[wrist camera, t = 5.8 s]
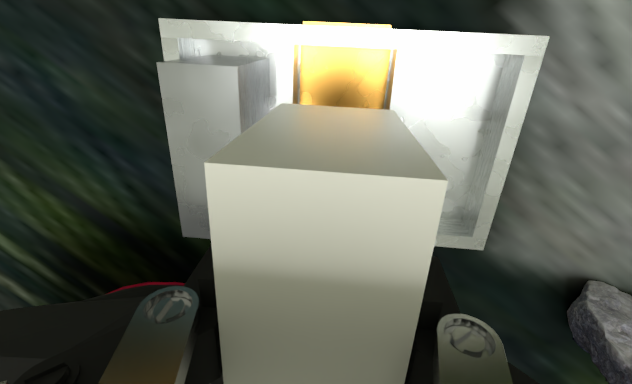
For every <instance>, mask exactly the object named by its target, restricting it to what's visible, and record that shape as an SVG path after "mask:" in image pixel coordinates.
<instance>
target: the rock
mask: <svg viewBox="0 0 632 384" xmlns="http://www.w3.org/2000/svg"><path fill="white" fill-rule="evenodd" d="M567 318H568V322H569V326H570V329H571V331H572V334H573V340H574V341H575V342H576V343H577V344H578V345H579V346H580V347H581V348H582V349H584V350H585V351H586V352H588V353H589V354H590V356H591V358H592V361H593V363H594V364H595V365H596V366H597V367H598V369H599V370H600V372H601V374H602V375H603V376H604V377H605V379H606V381H607V382H608V383H609V384H632V296H631V295H629V294H627V293H624V292H621V291H619V290H618V289H617V288H616V287H614V286H611V285H608V284H606V283H604V282H600V281H592V280H590V281H587V283H586V284H585V285H584V288H583V290H582V292H581V294H580V296H579V297H578V298H577V299H576V300H575V301H574V302H573V303H572V304H571V306H570V308H569V309H568V311H567Z"/></svg>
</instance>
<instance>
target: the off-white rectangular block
mask: <svg viewBox="0 0 632 384" xmlns="http://www.w3.org/2000/svg"><path fill="white" fill-rule="evenodd" d="M204 167H205V179H206V190H207V201H208V213H209V224H210V235H211V246H212V258H213V269H214V280H215V292H216V303H217V314H218V325H219V337H220V348H221V359H222V370H223V382H224V384H404V383H405V378H406V374H407V369H408V364H409V360H410V355H411V350H412V346H413V341H414V337H415V332H416V327H417V323H418V318H419V314H420V309H421V304H422V300H423V295H424V290H425V286H426V281H427V277H428V272H429V267H430V263H431V258H432V253H433V249H434V244H435V240H436V235H437V230H438V226H439V221H440V216H441V212H442V207H443V203H444V198H445V193H446V189H447V184H448V180H447V178H446V177H445V176H444V175H443V173H442V172H441V171H440V169H439V168H438V167H437V165H436V164H435V163H434V162H433V160H432V159H431V158H430V156H429V155H428V154H427V153H426V151H425V150H424V149H423V147H422V146H421V145H420V143H419V142H418V141H417V140H416V138H415V137H414V136H413V134H412V133H411V132H410V130H409V129H408V128H407V127H406V125H405V124H404V123H403V121H402V120H401V119H400V117H399V116H398V115H397V114H396V112H395V111H394V110H384V109H368V108H352V107H335V106H319V105H303V104H287V103H281V104H280V105H278V106H277V107H276V108H275V109H273V110H272V111H271V112H269V113H268V114H267V115H265V116H264V117H263V118H262V119H260V120H259V121H258V122H256V123H255V124H254V125H252V126H251V127H250V128H248V129H247V130H246V131H245V132H243V133H242V134H241V135H239V136H238V137H237V138H235V139H234V140H233V141H232V142H230V143H229V144H228V145H226V146H225V147H224V148H222V149H221V150H220V151H218V152H217V153H216V154H215V155H213V156H212V157H211V158H209V159H208V160H207V161H205V162H204Z"/></svg>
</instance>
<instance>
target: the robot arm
mask: <svg viewBox="0 0 632 384" xmlns="http://www.w3.org/2000/svg"><path fill="white" fill-rule="evenodd" d="M220 377H223V370H222V359H221V348H220V337H219V325H218V314H217V303H216V292H215V280H214V269H213V258H212V246H211V245H210V247H209V248H208V250H207V251H206V253H205V254H204V256H203V257H202V259H201V260H200V262H199V263H198V265H197V266H196V268H195V269H194V271H193V273H192V274H191V276H190V277H189V279H188V280H187V282H186V283H185V285H184V286H172V287H166V288H163V289H160V290H157V291H155V292H154V293H152V294H150V295H149V296H147V297H146V298H145V299H144V300H143V301H142V302H141V303H140V305H139V306H138V308H137V309H136V311H135V313H134V315H133V317H132V319H131V321H130V323H129V324H126V325H124V326H122V327H119V328H117V329H115V330H113V331H110V332H108V333H106V334H103V335H101V336H99V337H96V338H94V339H92V340H90V341H87V342H85V343H83V344H80V345H78V346H76V347H73V348H71V349H69V350H67V351H64V352H62V353H60V354H57V355H55V356H53V357H50V358H48V359H46V360H44V361H42V362H40V363H38V364H36V365H34V366H33V367H31V368H30V369H29V370H27V371H26V372H25V373H23V374H22V375H21V376H20V377H19V378H18V379H17V380H16V381H15V382H14V383H13V384H211V383H212V382H214V381H215V380H217V379H218V378H220ZM0 384H9V383H8V381H7V380H6V381H3V382H0ZM404 384H539V383H538V382H536V381H535V380H533V379H532V378H530V377H529V376H528V375H526V374H525V373H523V372H522V371H520V370H519V369H517V368H516V367H514V366H513V365H511V364H510V363H508V362H507V359H506V355H505V351H504V348H503V344H502V342H501V340H500V338H499V336H498V335H497V334H496V333H495V331H494V330H493V329H492V328H491V327H489V326H488V325H487V324H486V323H484V322H482V321H480V320H479V319H477V318H475V317H472V316H469V315H465V314H461V313H460V311H459V308H458V306H457V303H456V301H455V298H454V296H453V293H452V291H451V288H450V286H449V283H448V281H447V278H446V276H445V273H444V271H443V268H442V266H441V263H440V261H439V259H438V258H437V257H432V258H431V263H430V267H429V272H428V277H427V281H426V286H425V290H424V295H423V300H422V304H421V309H420V314H419V318H418V323H417V327H416V332H415V337H414V341H413V346H412V350H411V355H410V360H409V364H408V369H407V374H406V378H405V383H404Z"/></svg>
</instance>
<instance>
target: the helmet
mask: <svg viewBox="0 0 632 384" xmlns="http://www.w3.org/2000/svg"><path fill="white" fill-rule="evenodd" d="M184 285H185V283H178V282H146V283H141V284H135V285H129V286H124V287H122V288H119V289H117V290H114V291H112V292H109V293H107V294H104V295H101V296H97V297H93V298H90V299H86V300H82V301H75V302H67V303H59V304H51V305H43V306H34V307H26V308H18V309H10V310H2V311H0V382H3V381H6V380H7V381H8V383H9V384H13V383H14V382H15V381H16V380H17V379H18V378H19V377H20V376H21V375H22V374H23V373H25V372H26V371H27V370H29V369H30V368H31V367H33V366H34V365H36V364H38V363H40V362H42V361H44V360H46V359H48V358H50V357H53V356H55V355H57V354H60V353H62V352H64V351H67V350H69V349H71V348H73V347H76V346H78V345H80V344H83V343H85V342H87V341H90V340H92V339H94V338H96V337H99V336H101V335H103V334H106V333H108V332H110V331H113V330H115V329H117V328H119V327H122V326H124V325H126V324H129V323H130V321H131V319H132V317H133V315H134V313H135V311H136V309H137V308H138V306H139V305H140V303H141V302H142V301H143V300H144V299H145V298H146V297H147V296H149V295H150V294H152V293H154V292H155V291H157V290H160V289H163V288H166V287H172V286H184ZM211 384H224V382H223V377H220V378H218V379H217V380H215V381H214V382H212V383H211Z"/></svg>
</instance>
